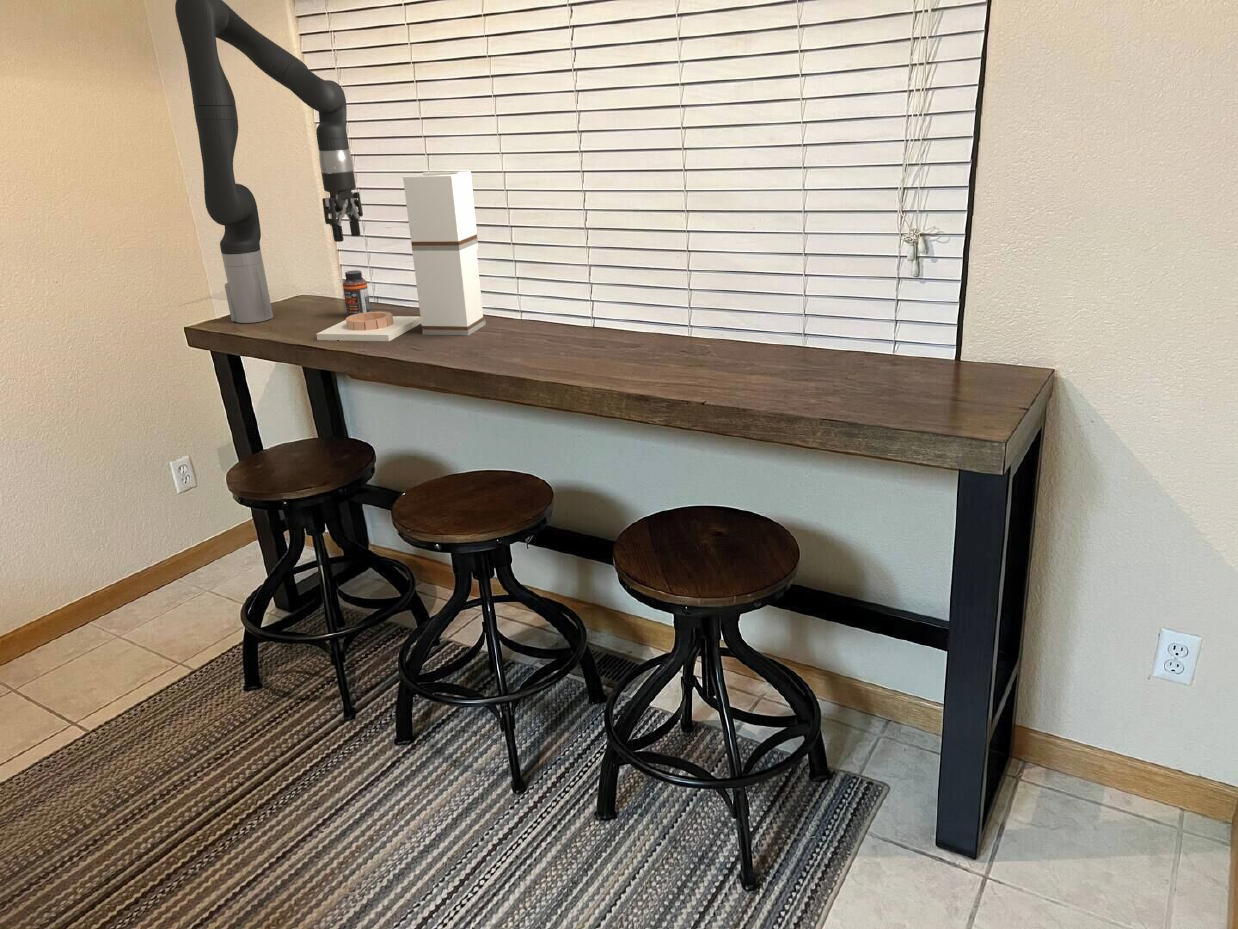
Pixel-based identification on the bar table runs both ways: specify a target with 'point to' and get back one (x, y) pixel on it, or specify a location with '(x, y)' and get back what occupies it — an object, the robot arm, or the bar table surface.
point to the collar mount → (370, 327)
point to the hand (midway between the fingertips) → (347, 238)
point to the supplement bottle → (356, 293)
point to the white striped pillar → (445, 252)
